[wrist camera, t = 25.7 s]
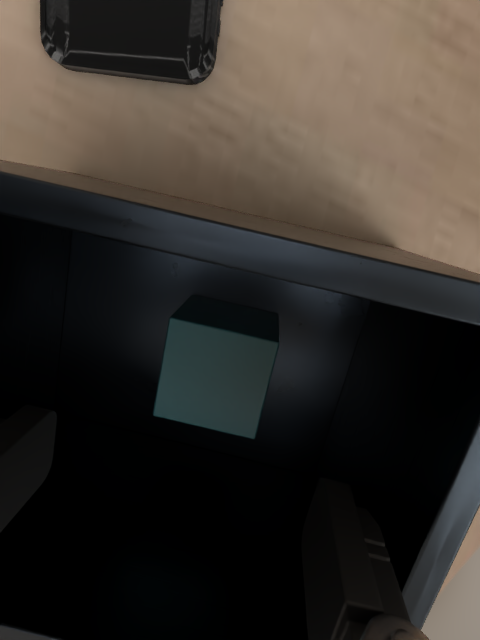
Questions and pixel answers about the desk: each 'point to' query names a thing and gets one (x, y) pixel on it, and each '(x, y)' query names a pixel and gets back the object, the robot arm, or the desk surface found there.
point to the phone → (133, 37)
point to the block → (217, 365)
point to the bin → (210, 445)
